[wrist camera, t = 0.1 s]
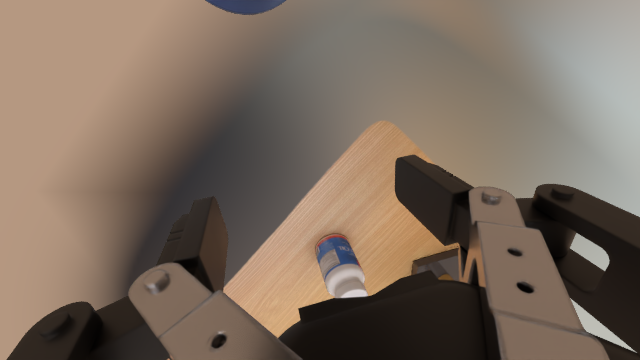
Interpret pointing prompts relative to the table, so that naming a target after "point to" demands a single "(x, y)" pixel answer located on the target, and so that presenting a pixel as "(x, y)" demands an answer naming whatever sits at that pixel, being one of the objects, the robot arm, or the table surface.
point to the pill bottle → (340, 267)
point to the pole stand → (439, 264)
